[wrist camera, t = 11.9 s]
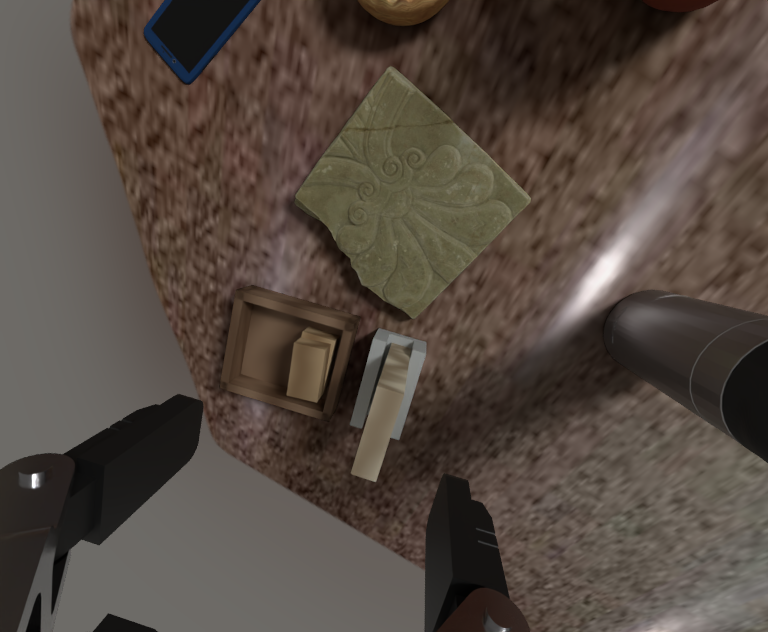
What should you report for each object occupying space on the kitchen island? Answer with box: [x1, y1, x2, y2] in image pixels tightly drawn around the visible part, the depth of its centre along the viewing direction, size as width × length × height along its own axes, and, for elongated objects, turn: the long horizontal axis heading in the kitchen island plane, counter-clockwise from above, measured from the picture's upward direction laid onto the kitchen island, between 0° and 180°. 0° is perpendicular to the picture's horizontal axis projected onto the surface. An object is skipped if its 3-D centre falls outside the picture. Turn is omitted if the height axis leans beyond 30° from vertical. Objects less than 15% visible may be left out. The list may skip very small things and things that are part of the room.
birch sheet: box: [351, 343, 411, 482], centre depth 38 cm, size 2×9×13 cm, turn 164°
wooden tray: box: [219, 285, 360, 422], centre depth 44 cm, size 14×12×4 cm
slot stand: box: [350, 328, 426, 440], centre depth 43 cm, size 6×11×4 cm, turn 165°
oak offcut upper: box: [287, 337, 331, 403], centre depth 42 cm, size 4×6×2 cm, turn 169°
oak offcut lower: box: [301, 327, 340, 395], centre depth 44 cm, size 4×7×2 cm, turn 165°
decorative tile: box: [294, 67, 531, 319], centre depth 40 cm, size 19×20×4 cm
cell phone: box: [144, 0, 261, 84], centre depth 39 cm, size 7×14×1 cm, turn 131°
